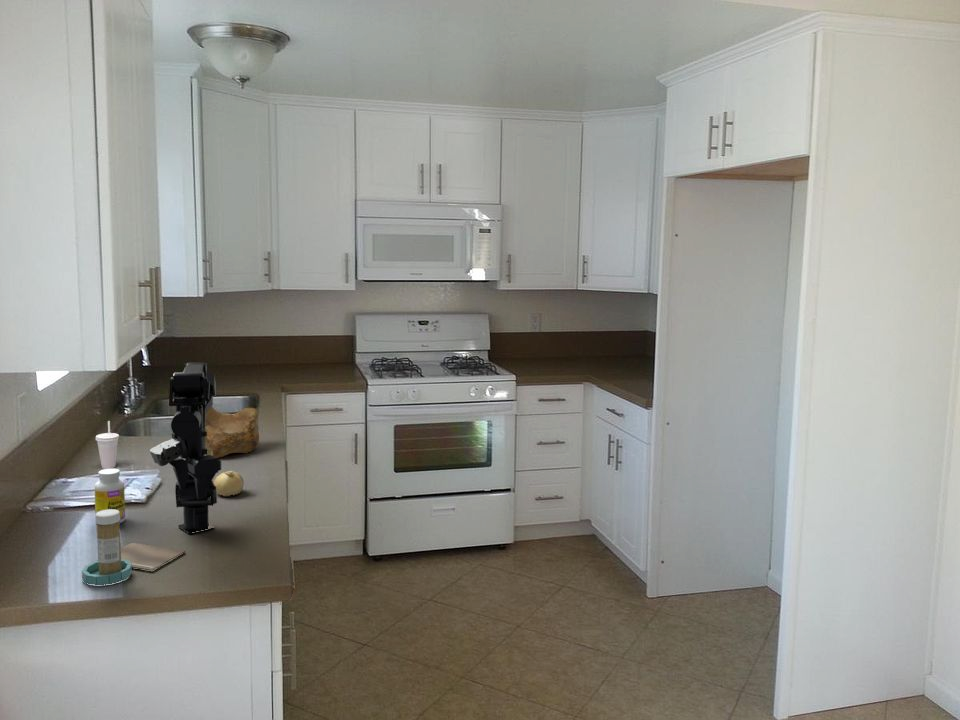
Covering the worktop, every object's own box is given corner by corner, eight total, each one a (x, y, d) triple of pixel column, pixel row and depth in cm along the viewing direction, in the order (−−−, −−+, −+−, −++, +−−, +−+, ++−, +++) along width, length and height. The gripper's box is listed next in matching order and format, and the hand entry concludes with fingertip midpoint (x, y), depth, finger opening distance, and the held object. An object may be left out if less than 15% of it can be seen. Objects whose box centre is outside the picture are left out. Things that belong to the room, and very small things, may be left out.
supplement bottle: (106, 528, 196) (104, 476, 194) (89, 522, 199) (87, 472, 197) (131, 520, 201) (129, 470, 199) (114, 515, 205) (112, 465, 203)
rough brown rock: (183, 465, 251) (183, 419, 248) (184, 447, 267) (184, 403, 263) (261, 463, 259) (262, 418, 255) (258, 446, 274) (259, 403, 271)
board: (132, 544, 186) (132, 542, 186) (184, 553, 183) (184, 550, 182) (97, 563, 176) (97, 559, 176) (152, 572, 172) (152, 569, 172)
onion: (207, 495, 222) (206, 470, 221) (228, 488, 229) (228, 463, 228) (229, 501, 218) (228, 475, 217) (250, 493, 225) (250, 468, 224)
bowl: (105, 565, 175) (104, 556, 175) (141, 571, 172) (140, 562, 172) (72, 582, 166) (72, 572, 166) (110, 589, 164) (109, 579, 163)
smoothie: (119, 469, 243) (118, 423, 241) (96, 470, 241) (94, 424, 238) (120, 463, 249) (118, 418, 247) (97, 464, 246) (95, 419, 244)
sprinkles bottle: (123, 569, 172) (121, 507, 170) (120, 578, 167) (117, 515, 165) (100, 570, 171) (97, 509, 169) (95, 579, 166) (93, 516, 164)
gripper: (137, 424, 185) (139, 490, 187) (172, 441, 171) (174, 512, 174) (185, 417, 192) (186, 481, 195) (221, 433, 179) (223, 501, 181)
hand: (191, 494), depth 186 cm, fingers open, 9 cm apart
